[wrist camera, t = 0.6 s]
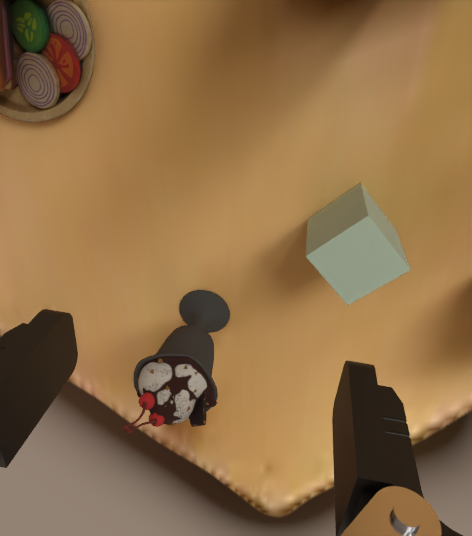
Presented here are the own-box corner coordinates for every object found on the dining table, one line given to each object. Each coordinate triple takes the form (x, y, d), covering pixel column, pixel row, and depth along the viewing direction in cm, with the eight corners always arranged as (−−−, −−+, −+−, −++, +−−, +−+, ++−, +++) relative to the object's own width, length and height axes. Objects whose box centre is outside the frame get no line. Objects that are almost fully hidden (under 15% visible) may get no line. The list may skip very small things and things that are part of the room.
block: (360, 182, 34) (368, 215, 28) (396, 229, 35) (410, 270, 30) (307, 219, 36) (305, 256, 30) (343, 262, 37) (347, 305, 32)
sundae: (160, 289, 42) (88, 410, 29) (225, 275, 40) (179, 399, 27) (185, 343, 45) (130, 474, 32) (247, 332, 43) (216, 468, 30)
